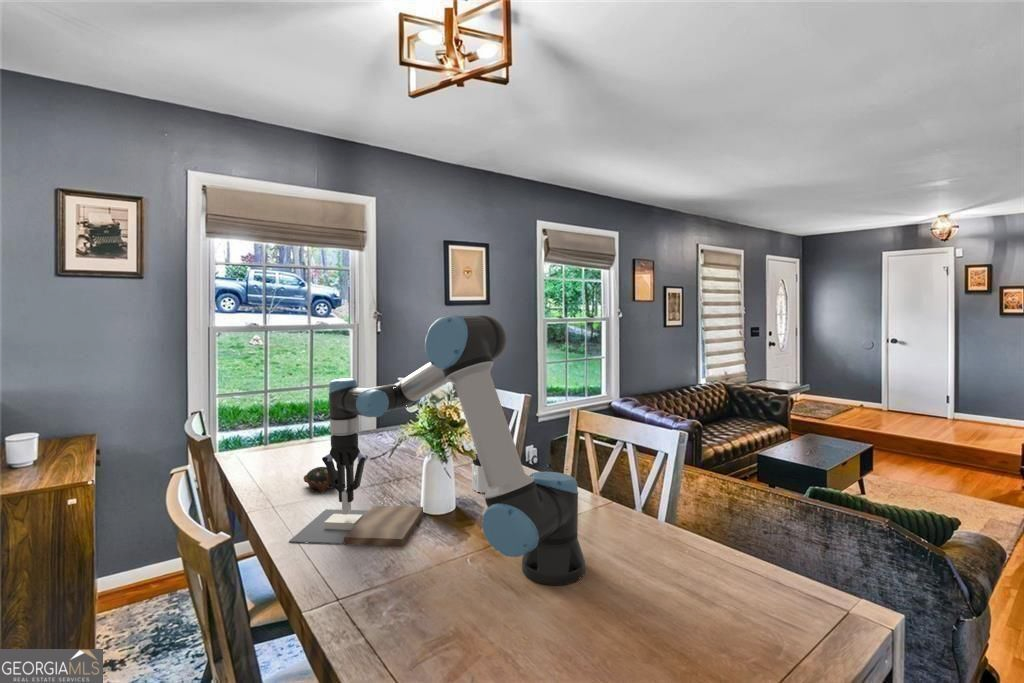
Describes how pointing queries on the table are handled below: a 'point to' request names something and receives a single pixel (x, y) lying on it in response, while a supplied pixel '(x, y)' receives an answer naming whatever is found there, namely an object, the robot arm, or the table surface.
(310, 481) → the decorative turtle
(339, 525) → the cream rectangular block
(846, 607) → the table surface
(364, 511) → the place mat
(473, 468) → the jar
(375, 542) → the serving board
